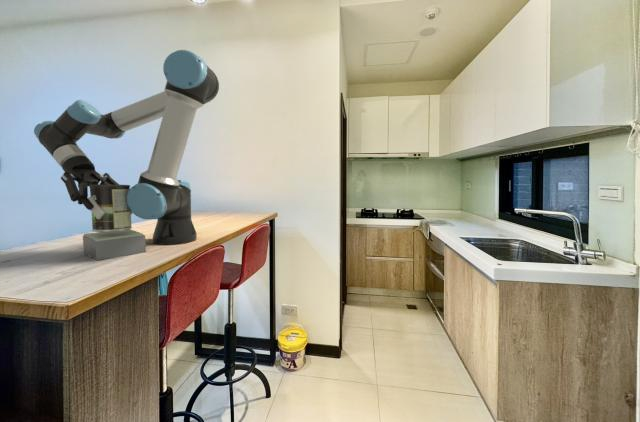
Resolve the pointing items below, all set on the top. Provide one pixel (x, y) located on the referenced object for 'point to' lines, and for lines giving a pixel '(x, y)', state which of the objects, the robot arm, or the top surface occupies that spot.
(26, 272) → the top surface
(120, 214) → the coffee can
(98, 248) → the base block
